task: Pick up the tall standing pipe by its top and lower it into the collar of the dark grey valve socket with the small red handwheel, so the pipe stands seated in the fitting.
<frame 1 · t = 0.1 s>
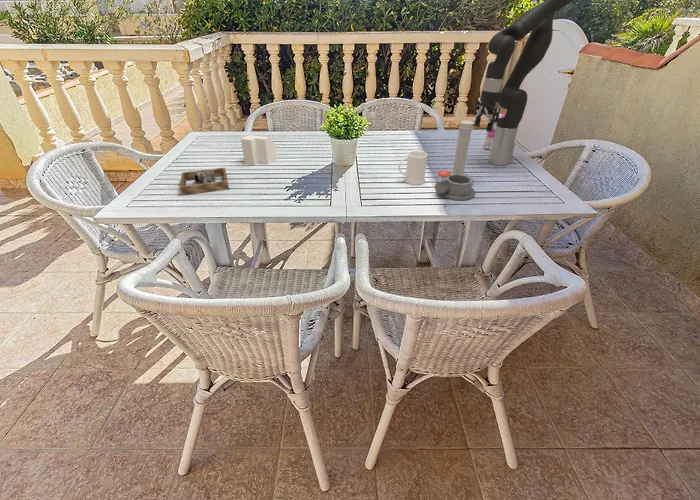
hand: (482, 128, 164), 17 cm above the table, tool pointing down, fingers open, 8 cm apart
candy bar box: (491, 147, 196), on the table
pipe: (456, 178, 161), on the table
corner bracket: (261, 161, 179), on the table
mug: (410, 181, 159), on the table
valve socket: (456, 192, 149), on the table
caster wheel: (205, 184, 157), resting in parts corral
parts corral: (205, 184, 156), on the table
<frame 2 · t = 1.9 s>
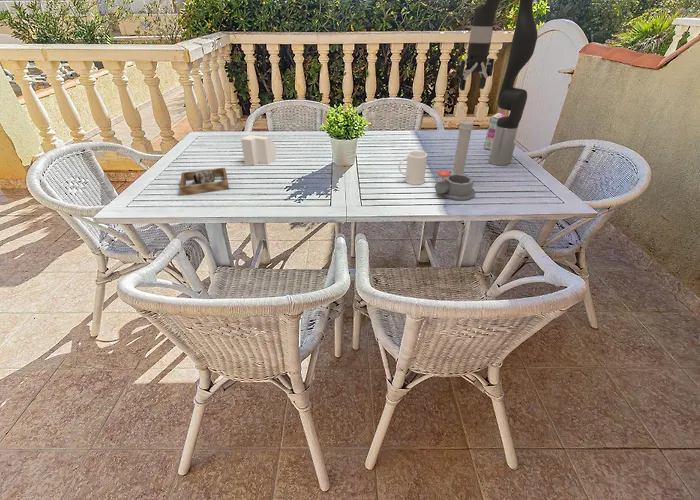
hand: (471, 89, 141), 36 cm above the table, tool pointing down, fingers open, 8 cm apart
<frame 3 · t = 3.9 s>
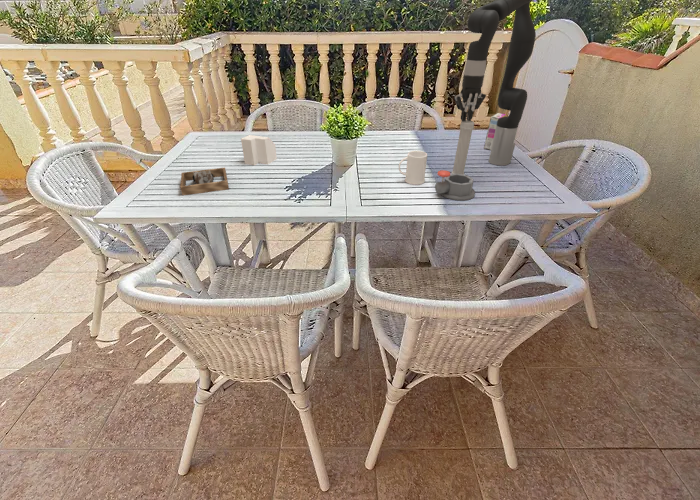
hand: (465, 120, 147), 25 cm above the table, tool pointing down, fingers closed on pipe, 2 cm apart
pipe: (456, 178, 161), on the table, touching gripper
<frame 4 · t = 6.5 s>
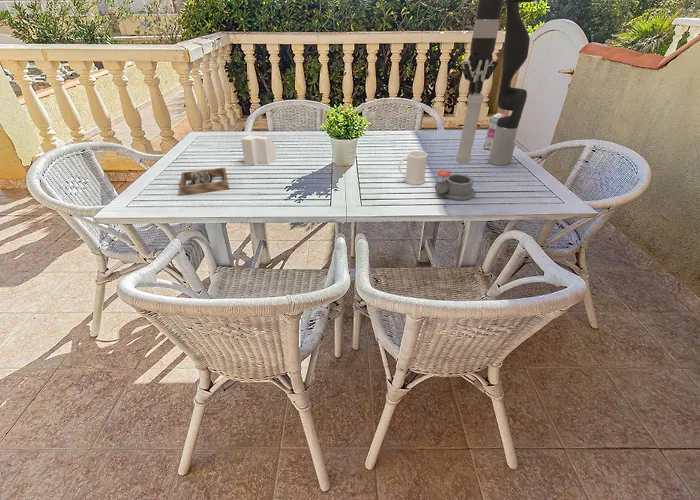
hand: (474, 93, 128), 38 cm above the table, tool pointing down, fingers closed on pipe
pipe: (461, 161, 142), point 13 cm above the table, touching gripper
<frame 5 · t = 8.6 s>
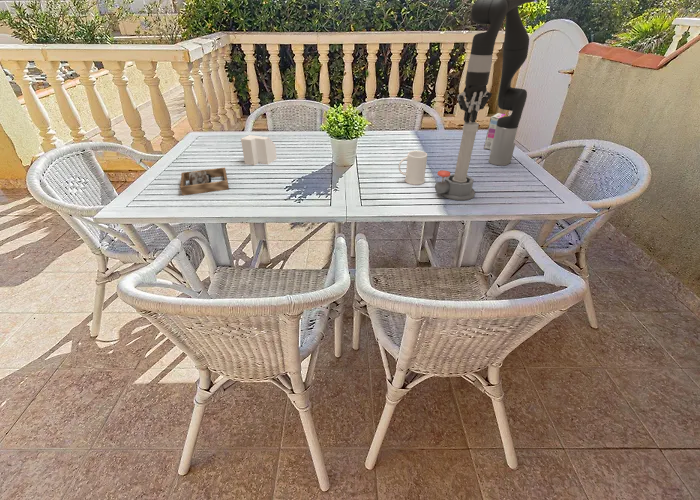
hand: (469, 121, 133), 28 cm above the table, tool pointing down, fingers closed on pipe, 2 cm apart
pipe: (457, 185, 147), point 3 cm above the table, touching gripper
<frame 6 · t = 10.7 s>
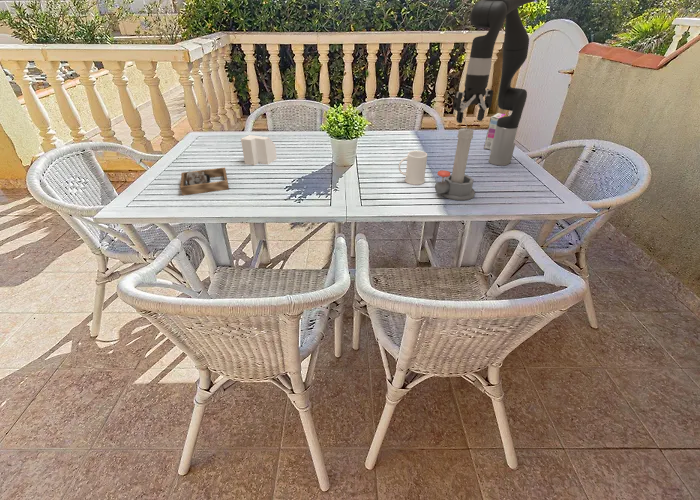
hand: (469, 121, 133), 28 cm above the table, tool pointing down, fingers open, 8 cm apart
pipe: (454, 191, 148), point 1 cm above the table, touching valve socket
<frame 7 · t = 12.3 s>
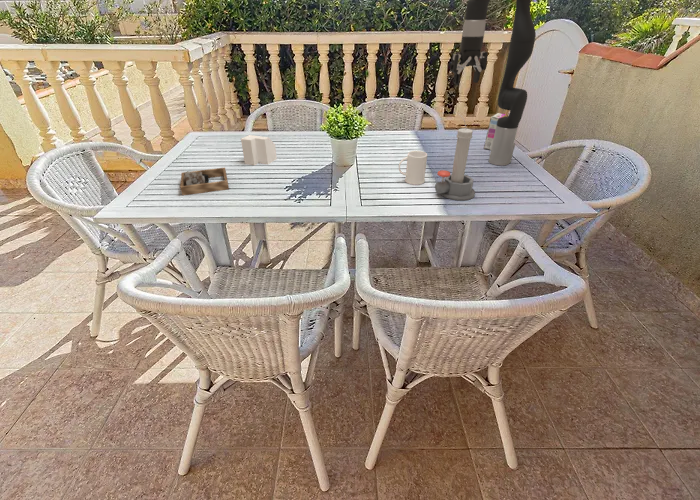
hand: (465, 83, 140), 38 cm above the table, tool pointing down, fingers open, 8 cm apart
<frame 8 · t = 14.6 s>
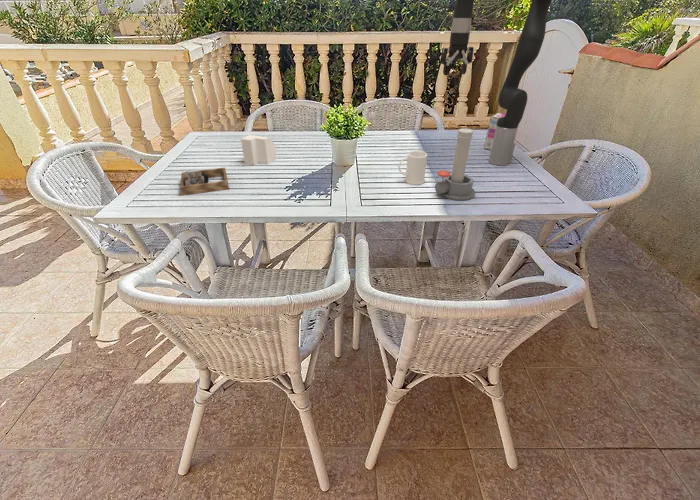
hand: (454, 74, 159), 38 cm above the table, tool pointing down, fingers open, 8 cm apart
at the end: pipe 1.2 cm off-centre on the valve socket, point 0.8 cm above the valve socket's base; pipe tilted 0°; the gripper is holding nothing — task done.
